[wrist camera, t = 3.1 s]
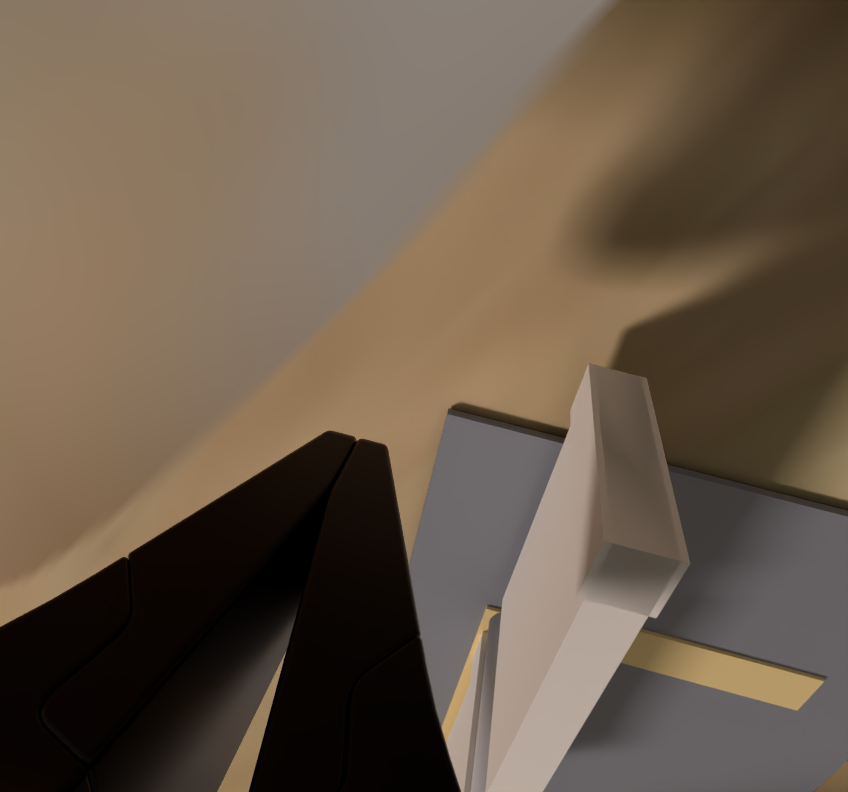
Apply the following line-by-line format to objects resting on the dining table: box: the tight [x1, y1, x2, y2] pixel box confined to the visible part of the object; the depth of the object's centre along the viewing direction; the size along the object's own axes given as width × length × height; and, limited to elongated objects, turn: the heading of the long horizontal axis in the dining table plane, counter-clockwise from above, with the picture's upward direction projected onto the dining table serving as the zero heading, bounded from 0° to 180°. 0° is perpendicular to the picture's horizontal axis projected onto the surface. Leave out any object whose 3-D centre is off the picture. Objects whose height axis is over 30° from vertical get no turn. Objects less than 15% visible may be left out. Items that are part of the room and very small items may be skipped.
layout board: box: [409, 409, 848, 792], centre depth 16 cm, size 13×12×1 cm
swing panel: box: [471, 363, 690, 792], centre depth 11 cm, size 8×1×4 cm, turn 169°
